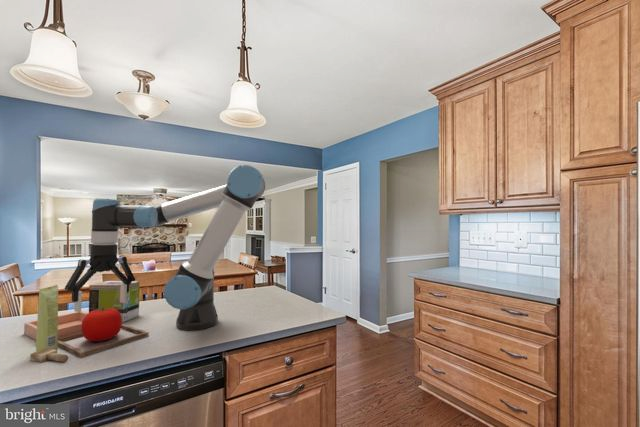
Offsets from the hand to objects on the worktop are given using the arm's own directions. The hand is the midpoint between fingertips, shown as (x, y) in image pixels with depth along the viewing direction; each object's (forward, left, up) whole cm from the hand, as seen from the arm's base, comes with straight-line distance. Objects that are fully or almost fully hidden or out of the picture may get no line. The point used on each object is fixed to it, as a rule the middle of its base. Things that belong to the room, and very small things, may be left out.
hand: (101, 306), depth 103 cm
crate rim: (0, 0, -11) cm, 11 cm away
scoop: (-4, +15, -11) cm, 19 cm away
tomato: (0, 0, -11) cm, 11 cm away
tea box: (+21, -14, -11) cm, 27 cm away
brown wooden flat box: (+20, +3, -11) cm, 23 cm away
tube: (+4, +13, -11) cm, 17 cm away
